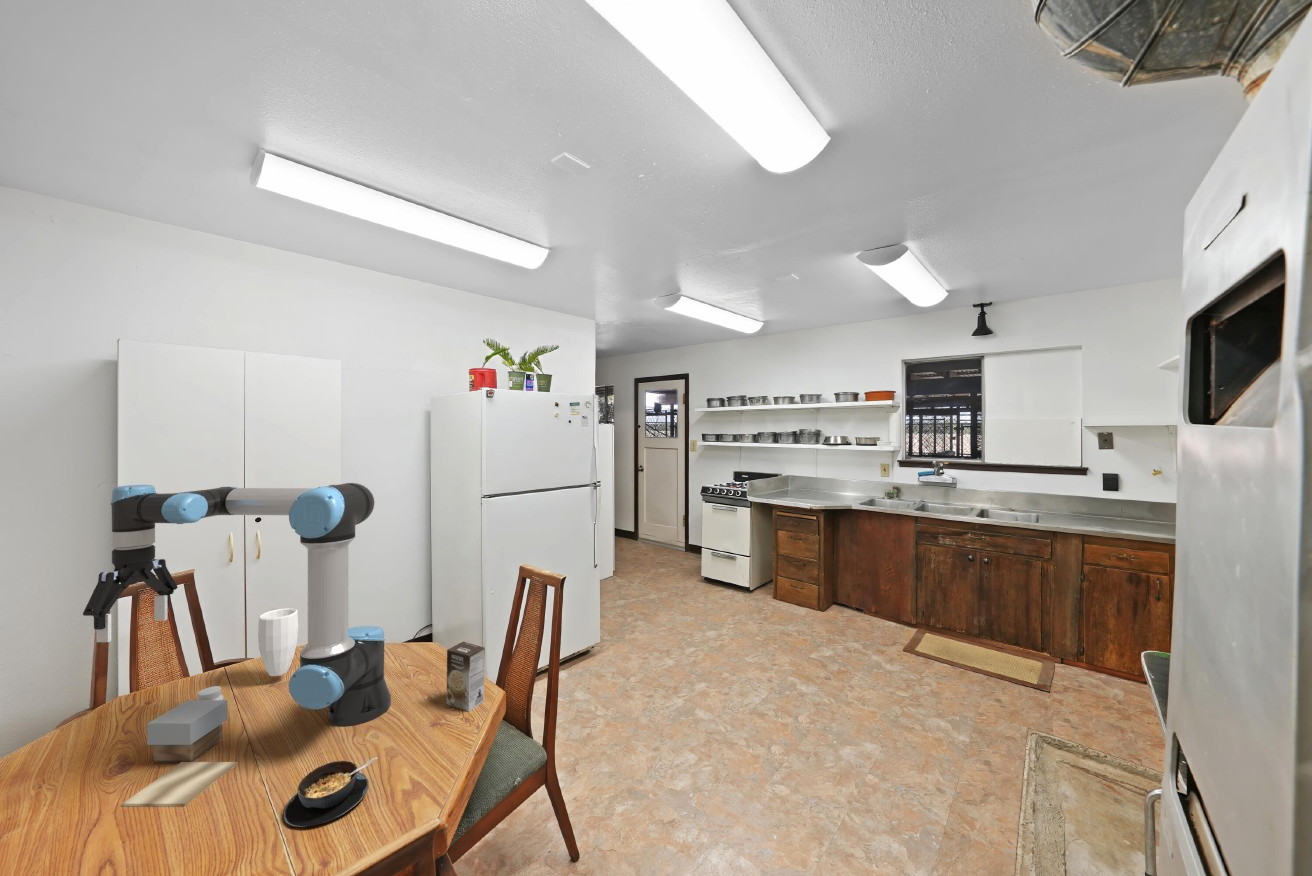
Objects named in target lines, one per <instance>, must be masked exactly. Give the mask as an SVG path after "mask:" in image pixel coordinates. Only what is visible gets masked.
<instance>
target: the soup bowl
mask: <svg viewBox="0 0 1312 876" xmlns="http://www.w3.org/2000/svg"><path fill="white" fill-rule="evenodd" d="M377 759H378V757H374V758H371V759H369V760H368V761H366V762H365V763H363V764H361V765H360V766H357V764H355V763H353V762H352V761H346V760H337V761H333V762H329V763H326V764H323V765H320V766H318V767H316V768H314V769H313V770H312V771H310V772H309V773H307V775H305V776H304V777H303V778H302V780H301V781H300V783H299V784H298V785H297V790H296V793H295V794H294V795H293V796H292V797H291V798H290V799H289V800H288V802H287V803H286V805H285V807H284V809H283V815H282V816H283V820H284V821H283V822H285V824H286V825H288V826H289V827H299V828H301V827H302V828H303V827H304V828H305V827H306V828H307V827H313V826H317V825H322V824H325V823H328V822H331V821H332V820H334V819H336V818H340V817H341V816H343V815H345V814H346V813H347V812H349V811H351V810H352V809H353V808H354V807H356V806H358V804H359V802H361V801H362V800H363V799H364V798H365V796H366V795H367V792H368V790H369V785H370V783H369V779H368V778H367V775H365V774H364V773H362V772H360V771H361V770H363V769H364V768H366V767H367V766H369V765H370V764H372V763H373V762H375V761H376V760H377Z"/></svg>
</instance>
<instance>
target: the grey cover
mask: <svg viewBox="0 0 1312 876" xmlns="http://www.w3.org/2000/svg"><path fill="white" fill-rule="evenodd" d="M226 721H228V700H227V699H224V700H199V699H198V700H196V699H195V700H193V699H188V700H186V701H184V702H183V703H181V704H179V705H177V706H176V707H173V708H172V709H170V710H169V711H167V712H165V713H163V714H162V715H159V716H158V717H156V718H154V719H153V720H151V721H149V722H148V723H147V725H146V727H147V729H146V731H147V732H146V733H147V734H146V735H147V743H146V744H147V745H148V746H149V745H150V746H151V745H191V744H192V743H194V742H195V741H197V740H198V739H200V738H201V737H203V736H204V735H206V734H207V733H209V732H210V731H212V730H213V729H215V728H216V727H218V726H219V725H221V724H222V723H223V724H224V723H225V722H226ZM223 724H222V725H223Z"/></svg>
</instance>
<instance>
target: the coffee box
mask: <svg viewBox="0 0 1312 876" xmlns="http://www.w3.org/2000/svg"><path fill="white" fill-rule="evenodd" d="M485 652H486V648H485V647H484V646H481V645H477V644H474V643H470V642H468V641H462V642H459V643H457V644H456V645H453V646H452V647H450V648H448V649H446V705H448V706H451V707H454V708H457V709H460V710H461V711H462V710H463V711H466V712H471V711H473V710H474V709H476V708H477V707H478V706H480V705H481V704H483V703H485V673H486V672H485V670H486V669H485V663H486V662H485V661H486V660H485V656H486V653H485Z"/></svg>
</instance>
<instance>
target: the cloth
mask: <svg viewBox="0 0 1312 876" xmlns="http://www.w3.org/2000/svg"><path fill="white" fill-rule="evenodd" d="M237 765H238V761H193V762H181V763H180V764H176V765H175V766H174V767H173V768H171V769H170V770H168V771H167V772H165V773H164V774H162V775H161V776H159V777H158V778H157V779H155V780H154V781H152V782H151V783H149V784H147V786H145V787H144V788H142V789H141V790H140V791H138V792H137V793H135V794H134V795H132V796H130V797H129V798H127V800H125V801H124V802H122V803H121V807H186V806H187V805H188V804H189V803H191V802H192V801H193V800H195V799H196V798H197V797H199V796H200V795H201V794H202V793H204V792H205V791H206V790H207V789H209V788H210V787H211V786H212V785H213V784H214V783H213V782H215V781H216V780H217V779H218V780H219V778H220V777H221V776H222V777H223V776H225V775H226V774H227V773H229V770H230V769H231V770H232V769H233V768H235V767H236V766H237ZM231 770H230V771H231ZM224 774H225V775H224ZM222 777H221V778H222ZM221 778H220V779H221ZM218 780H217V781H218ZM217 781H216V782H217ZM216 782H215V783H216ZM212 783H213V784H212ZM211 784H212V785H211ZM210 785H211V786H210ZM209 786H210V787H209ZM205 789H206V790H205Z"/></svg>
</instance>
